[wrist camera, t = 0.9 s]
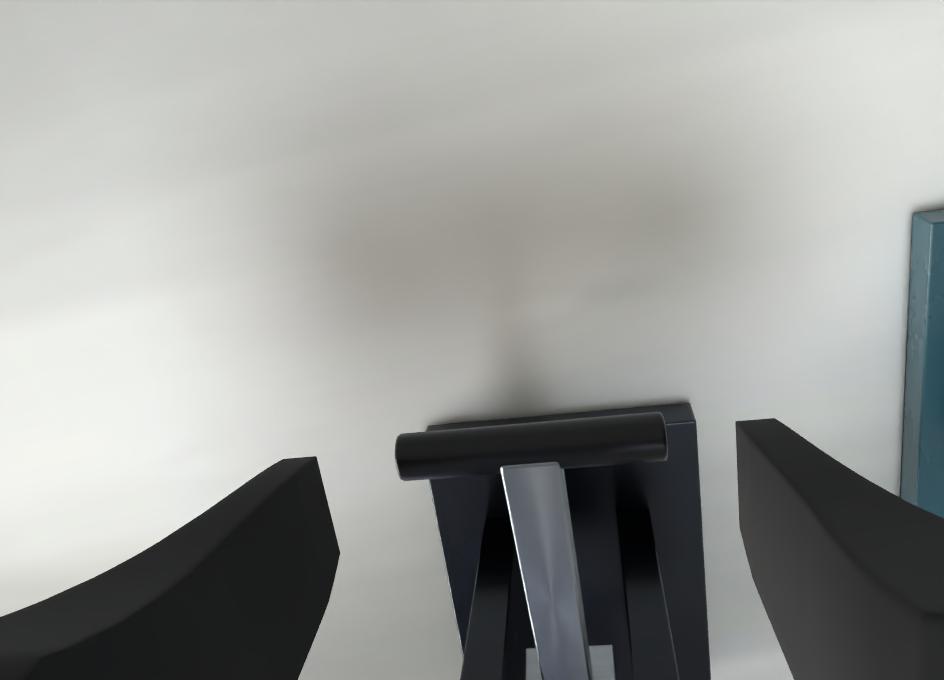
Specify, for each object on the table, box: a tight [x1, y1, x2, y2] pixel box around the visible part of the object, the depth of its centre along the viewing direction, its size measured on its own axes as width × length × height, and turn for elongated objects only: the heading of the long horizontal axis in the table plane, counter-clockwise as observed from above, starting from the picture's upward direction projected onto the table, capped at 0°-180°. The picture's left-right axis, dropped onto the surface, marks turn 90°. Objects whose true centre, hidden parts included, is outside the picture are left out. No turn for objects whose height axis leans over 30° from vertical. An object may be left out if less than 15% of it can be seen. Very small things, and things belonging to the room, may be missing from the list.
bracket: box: [426, 403, 711, 680], centre depth 23 cm, size 10×8×9 cm
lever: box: [395, 412, 668, 680], centre depth 18 cm, size 11×5×2 cm, turn 8°
